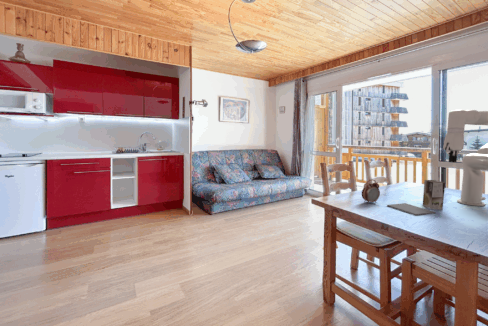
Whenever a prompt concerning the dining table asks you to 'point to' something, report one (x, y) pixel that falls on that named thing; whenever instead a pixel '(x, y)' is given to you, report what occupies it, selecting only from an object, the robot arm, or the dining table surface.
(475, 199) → the robot arm
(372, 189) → the alarm clock
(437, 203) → the coffee box
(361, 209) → the dining table surface
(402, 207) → the mat
